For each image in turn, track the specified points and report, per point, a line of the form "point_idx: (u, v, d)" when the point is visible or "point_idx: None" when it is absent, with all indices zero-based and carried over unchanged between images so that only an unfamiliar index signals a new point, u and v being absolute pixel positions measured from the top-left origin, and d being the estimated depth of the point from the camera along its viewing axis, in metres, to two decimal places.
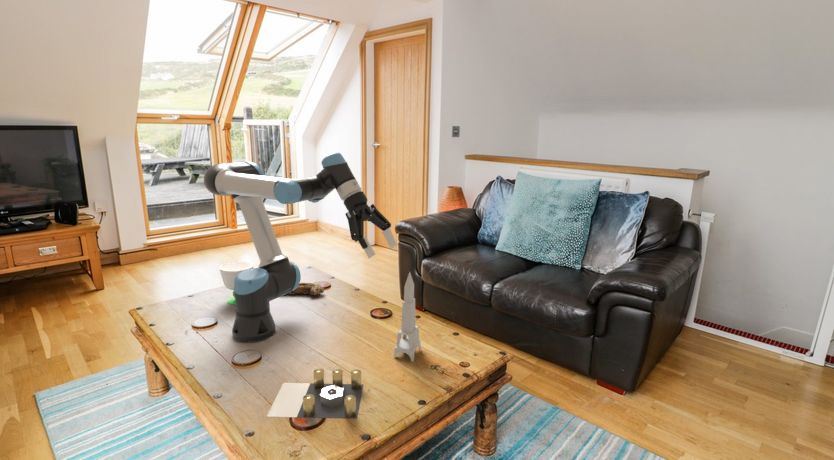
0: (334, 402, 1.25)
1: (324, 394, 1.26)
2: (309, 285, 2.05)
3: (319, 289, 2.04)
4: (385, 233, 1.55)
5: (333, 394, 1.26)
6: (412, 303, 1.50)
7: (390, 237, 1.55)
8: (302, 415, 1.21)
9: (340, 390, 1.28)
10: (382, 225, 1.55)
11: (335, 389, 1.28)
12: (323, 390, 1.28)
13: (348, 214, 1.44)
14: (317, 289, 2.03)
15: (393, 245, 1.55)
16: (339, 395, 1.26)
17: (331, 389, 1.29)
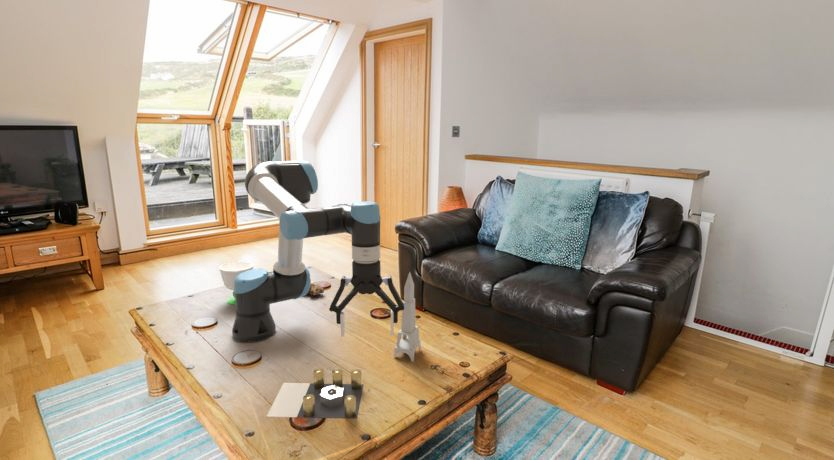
0: (334, 402, 1.25)
1: (324, 394, 1.26)
2: None
3: (319, 289, 2.03)
4: None
5: (333, 394, 1.26)
6: (412, 303, 1.50)
7: None
8: (302, 415, 1.21)
9: (340, 390, 1.28)
10: None
11: (335, 389, 1.28)
12: (323, 390, 1.28)
13: None
14: (317, 289, 2.03)
15: None
16: (339, 395, 1.26)
17: (331, 389, 1.29)
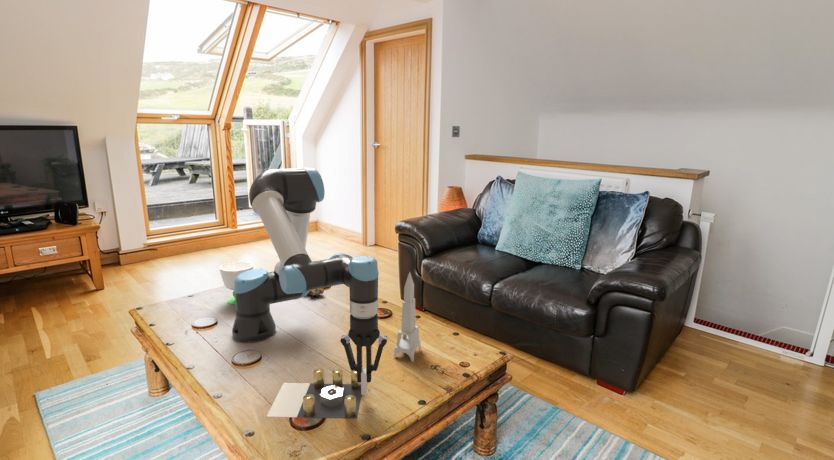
0: (334, 402, 1.25)
1: (324, 394, 1.26)
2: None
3: (318, 290, 2.03)
4: None
5: (333, 394, 1.26)
6: (412, 303, 1.50)
7: None
8: (302, 415, 1.21)
9: (340, 390, 1.28)
10: None
11: (335, 389, 1.28)
12: (323, 390, 1.28)
13: None
14: (316, 290, 2.02)
15: None
16: (339, 395, 1.26)
17: (331, 389, 1.29)
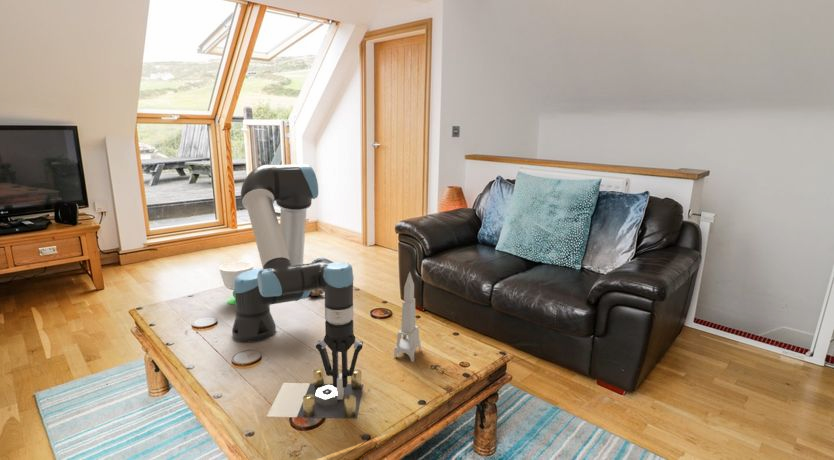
0: (329, 402, 1.25)
1: (319, 394, 1.26)
2: None
3: (318, 290, 2.02)
4: None
5: (328, 394, 1.26)
6: (412, 303, 1.50)
7: None
8: (302, 415, 1.21)
9: (335, 390, 1.28)
10: (342, 368, 1.25)
11: (330, 389, 1.28)
12: (318, 390, 1.28)
13: None
14: (316, 290, 2.02)
15: None
16: (335, 395, 1.26)
17: (326, 389, 1.29)
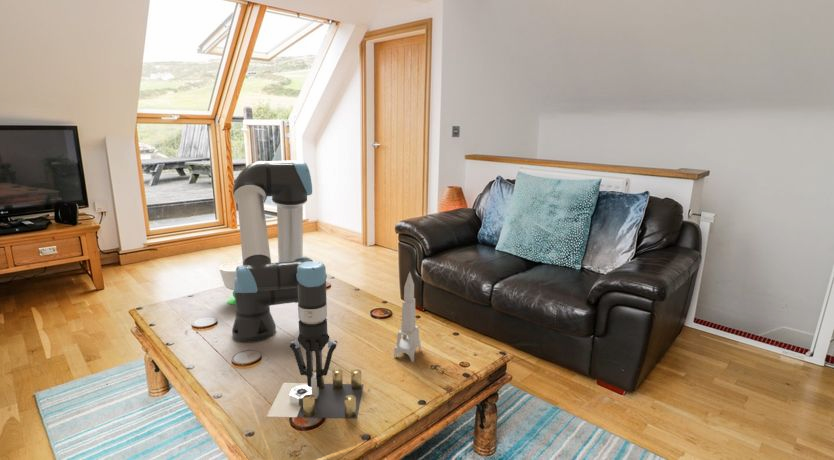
0: None
1: (294, 394, 1.26)
2: None
3: None
4: None
5: (302, 394, 1.26)
6: (412, 303, 1.50)
7: None
8: (302, 415, 1.21)
9: (310, 389, 1.28)
10: None
11: (305, 389, 1.28)
12: (293, 390, 1.28)
13: None
14: None
15: None
16: None
17: (301, 389, 1.28)
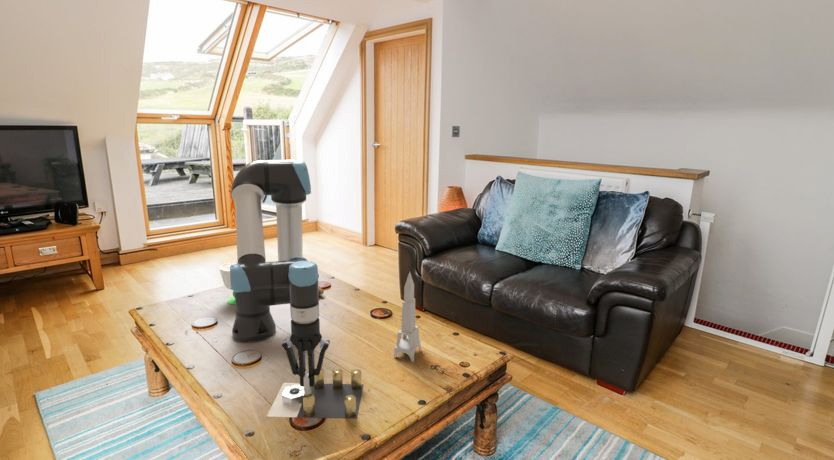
0: (296, 401, 1.25)
1: (286, 394, 1.26)
2: None
3: (318, 290, 2.02)
4: None
5: (295, 394, 1.26)
6: (412, 303, 1.50)
7: None
8: (302, 415, 1.21)
9: (302, 389, 1.28)
10: None
11: (298, 389, 1.28)
12: (286, 389, 1.28)
13: None
14: None
15: None
16: (302, 394, 1.26)
17: (294, 388, 1.28)
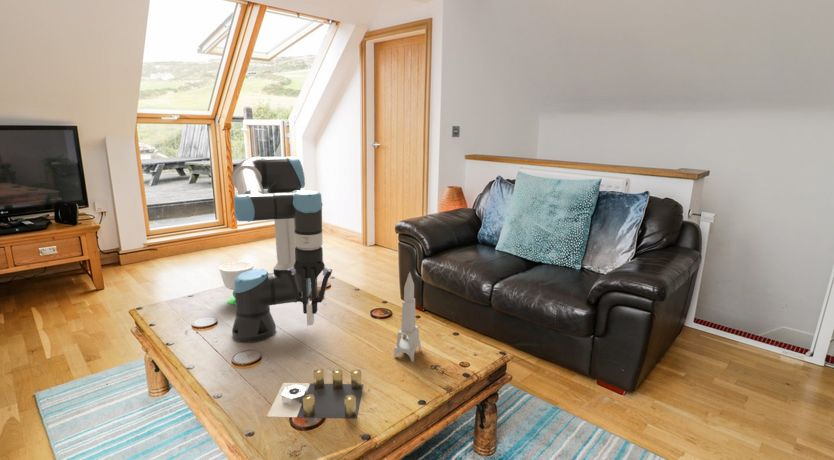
0: (295, 401, 1.25)
1: (286, 394, 1.26)
2: None
3: (317, 291, 2.02)
4: None
5: (295, 394, 1.26)
6: (412, 303, 1.50)
7: None
8: (302, 415, 1.21)
9: (302, 389, 1.28)
10: None
11: (297, 389, 1.28)
12: (285, 389, 1.28)
13: None
14: None
15: None
16: (301, 394, 1.26)
17: (293, 388, 1.28)
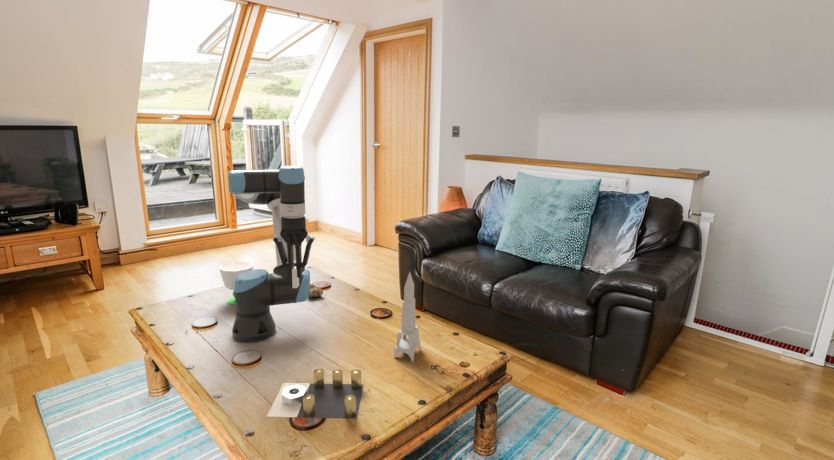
0: (295, 401, 1.25)
1: (286, 394, 1.26)
2: None
3: (316, 291, 2.01)
4: None
5: (295, 394, 1.26)
6: (412, 303, 1.50)
7: None
8: (302, 415, 1.21)
9: (302, 389, 1.28)
10: None
11: (297, 389, 1.28)
12: (285, 389, 1.28)
13: None
14: (314, 291, 2.00)
15: None
16: (301, 394, 1.26)
17: (293, 388, 1.28)
